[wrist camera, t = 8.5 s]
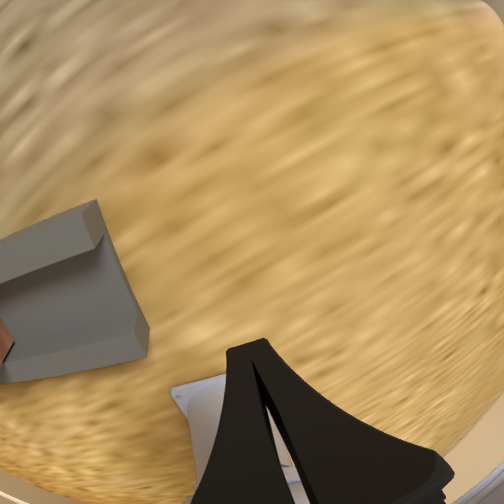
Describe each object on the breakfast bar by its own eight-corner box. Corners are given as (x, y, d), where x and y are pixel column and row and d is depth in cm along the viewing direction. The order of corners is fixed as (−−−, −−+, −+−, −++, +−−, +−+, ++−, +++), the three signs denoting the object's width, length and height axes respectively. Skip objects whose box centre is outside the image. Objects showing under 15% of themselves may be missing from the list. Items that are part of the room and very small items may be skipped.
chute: (149, 327, 20) (147, 358, 17) (-13, 364, 18) (-25, 388, 15) (96, 199, 16) (80, 213, 13) (-65, 275, 14) (-85, 293, 11)
